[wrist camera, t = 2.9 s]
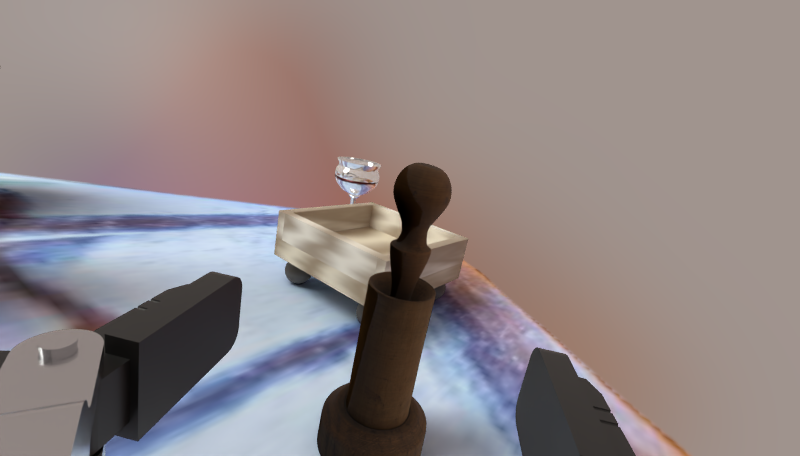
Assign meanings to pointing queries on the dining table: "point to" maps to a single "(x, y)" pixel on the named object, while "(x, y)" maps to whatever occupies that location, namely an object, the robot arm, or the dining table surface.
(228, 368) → the dining table surface
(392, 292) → the mortar and pestle
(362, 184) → the wineglass
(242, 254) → the dining table surface
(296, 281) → the cart
